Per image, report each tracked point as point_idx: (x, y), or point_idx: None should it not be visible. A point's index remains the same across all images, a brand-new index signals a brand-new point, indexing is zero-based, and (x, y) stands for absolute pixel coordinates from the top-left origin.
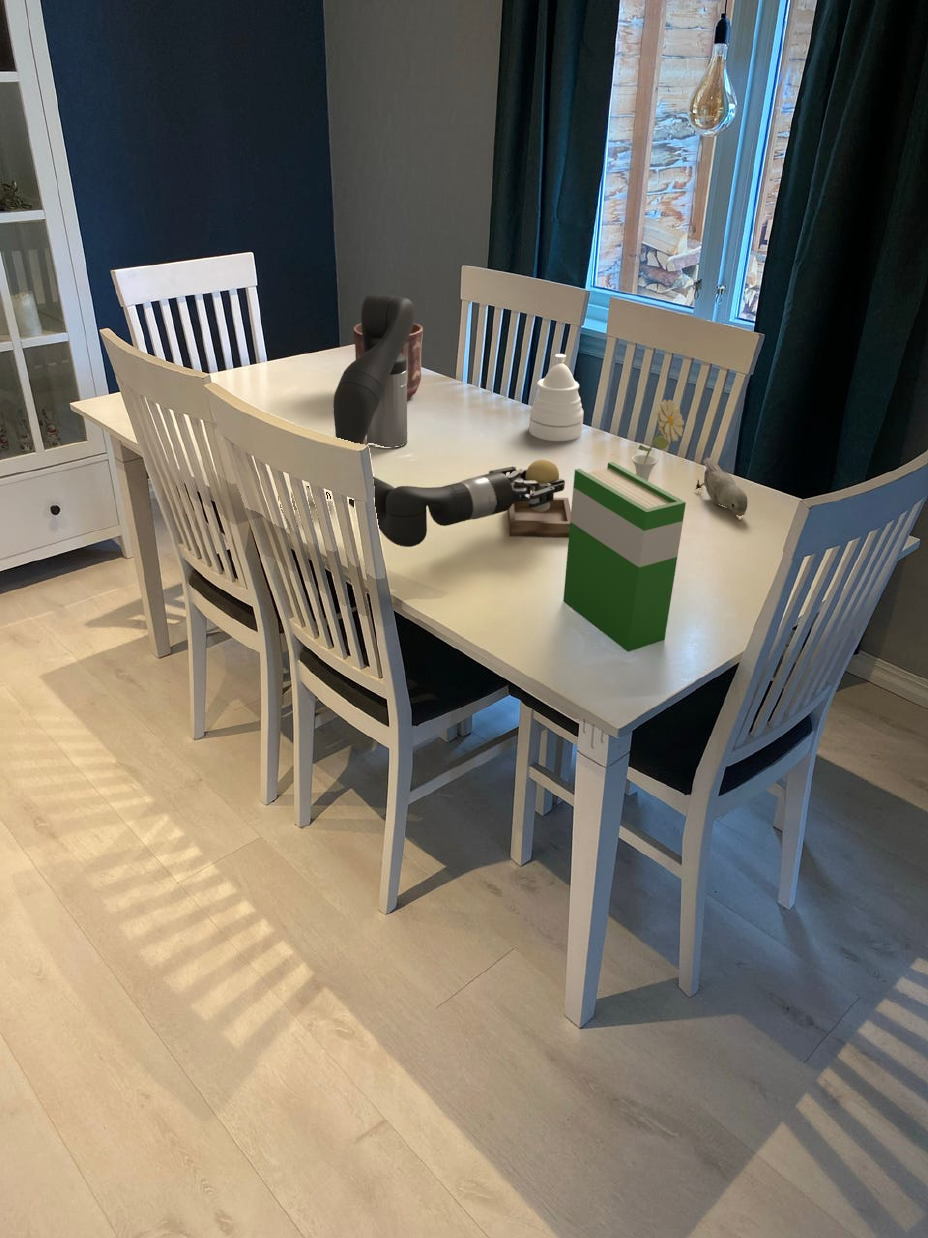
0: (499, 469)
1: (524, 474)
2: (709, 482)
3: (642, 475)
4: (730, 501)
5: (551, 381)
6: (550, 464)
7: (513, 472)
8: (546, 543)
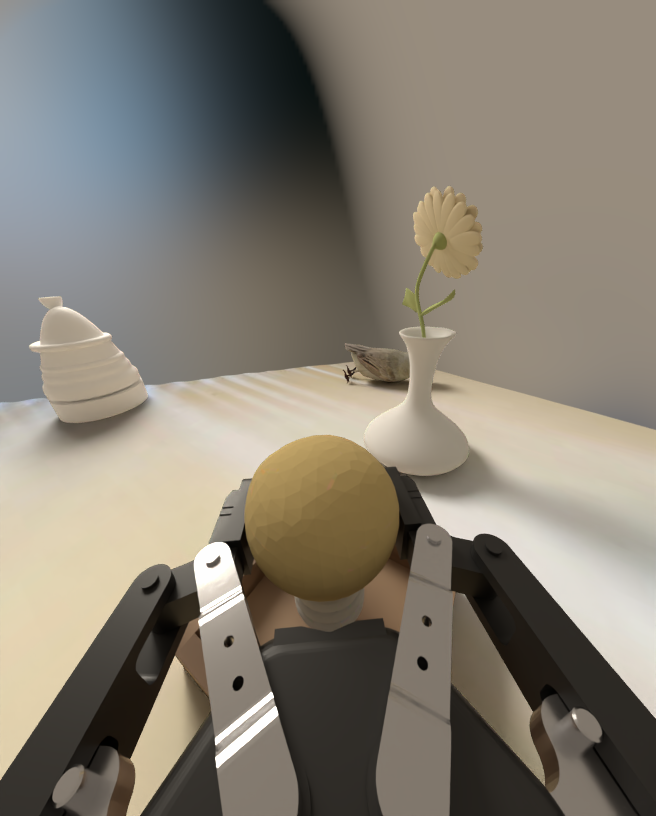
0: (55, 711)
1: (236, 560)
2: (376, 362)
3: (436, 363)
4: None
5: (58, 334)
6: (350, 445)
7: (213, 651)
8: (490, 712)
